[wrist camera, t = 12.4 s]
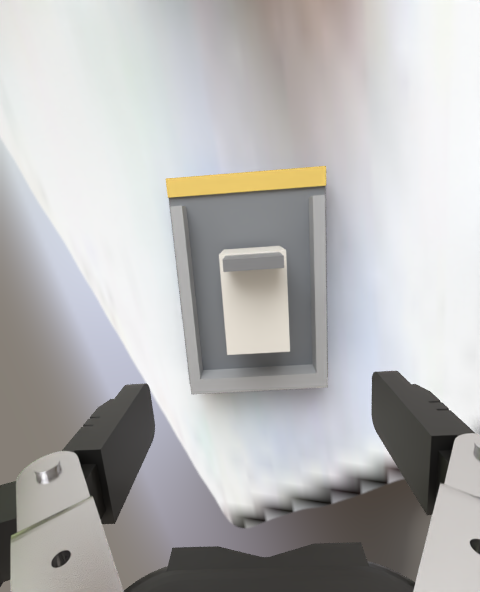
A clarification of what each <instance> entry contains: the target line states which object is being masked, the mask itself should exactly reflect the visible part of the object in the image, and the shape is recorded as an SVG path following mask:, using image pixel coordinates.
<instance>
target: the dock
mask: <svg viewBox="0 0 480 592" xmlns="http://www.w3.org/2000/svg"><path fill="white" fill-rule="evenodd" d="M166 185H167V194H168V198H169V205H170V213H171V222H172V231H173V240H174V248H175V257H176V266H177V275H178V284H179V292H180V301H181V310H182V319H183V327H184V336H185V345H186V354H187V362H188V371H189V380H190V386H191V394H209V393H228V392H248V391H267V390H287V389H306V388H326V387H328V385H327V377H328V357H327V276H326V195H325V186H326V166H319V167H306V168H294V169H281V170H269V171H256V172H243V173H231V174H218V175H205V176H193V177H180V178H167V179H166ZM268 246H281V247H282V248H284V249H285V250H286V260H287V286H288V311H289V337H290V352H272V353H254V354H236V355H227V346H226V334H225V322H224V310H223V299H222V287H221V275H220V263H219V254H220V253H221V252H222V251H223V250H224V249H239V248H253V247H268Z"/></svg>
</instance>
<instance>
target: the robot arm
mask: <svg viewBox="0 0 480 592" xmlns="http://www.w3.org/2000/svg"><path fill="white" fill-rule="evenodd" d="M372 420H373V425H374V428H375V430H376V432H377V434H378V435H379V437H380V439H381V440H382V442H383V444H384V445H385V447H386V449H387V450H388V452H389V454H390V455H391V457H392V458H393V460H394V462H395V463H396V465H397V467H398V468H399V470H400V472H401V473H402V475H403V477H404V478H405V480H406V481H407V483H408V485H409V486H410V488H411V490H412V491H413V493H414V495H415V496H416V498H417V500H418V501H419V503H420V504H421V506H422V508H423V509H424V511H425V512H426V514H427V515H432V518H431V523H430V527H429V530H428V534H427V538H426V542H425V546H424V550H423V554H422V559H421V562H420V566H419V570H418V574H417V578H416V582H413V581H412V580H410V579H408V578H407V577H405V576H403V575H401V574H400V573H398V572H396V571H394V570H391V569H389V568H387V567H384V566H382V565H379V564H376V563H372V562H368V561H367V559H366V556H365V553H364V550H363V547H362V545H361V543H324V544H311V545H308V546H305V547H301V548H298V549H295V550H292V551H288V552H285V553H281V554H278V555H275V556H272V557H259V556H255V555H251V554H246V553H242V552H238V551H234V550H230V549H226V548H222V547H184V548H172V552H171V556H170V560H169V564H168V566H167V567H164V568H161V569H159V570H157V571H154V572H152V573H150V574H148V575H146V576H145V577H143V578H141V579H139V580H138V581H136V582H135V583H133V584H132V585H131V586H129V587H128V588H127V589H126V590H124V591H123V588H122V585H121V582H120V579H119V576H118V573H117V570H116V567H115V564H114V560H113V557H112V554H111V551H110V548H109V545H108V542H107V539H106V536H105V533H104V530H103V526H102V524H115V522H116V520H117V518H118V516H119V513H120V511H121V509H122V507H123V505H124V503H125V500H126V498H127V496H128V494H129V492H130V489H131V487H132V485H133V483H134V480H135V478H136V476H137V474H138V472H139V470H140V468H141V465H142V463H143V461H144V459H145V457H146V454H147V452H148V450H149V448H150V446H151V443H152V441H153V438H154V432H155V422H154V415H153V408H152V401H151V394H150V389H149V386H148V384H132V385H125V386H124V387H123V388H122V390H121V391H120V392H119V394H118V395H117V396H116V397H115V399H110V400H109V401H107V402H106V403H104V404H103V405H101V406H100V407H98V408H97V409H96V411H95V412H94V413H93V414H92V415H91V417H90V419H88V420H87V421H86V423H85V424H84V425H83V427H81V429H80V430H79V431H78V432H77V433H76V434H75V436H74V437H73V438H72V439H71V440H70V442H69V443H68V444H67V445H66V447H65V448H64V449H63V450H62V451H60V452H55V453H51V454H48V455H45V456H43V457H41V458H39V459H37V460H35V461H34V462H33V463H31V464H29V465H28V466H27V467H26V468H25V469H24V470H23V471H22V472H21V473H20V474H19V476H18V478H17V480H16V481H15V482H11V483H7V484H4V485H0V587H1V585H2V583H3V582H5V581H8V580H11V591H10V592H480V434H476V433H474V432H473V431H472V430H471V429H470V428H469V427H468V426H467V425H466V424H465V423H464V422H463V421H461V420H460V419H459V418H458V417H457V416H456V415H455V414H454V413H453V412H452V411H451V410H450V411H449V409H448V408H447V407H446V406H445V405H444V404H443V403H441V402H440V400H439V399H438V398H437V397H436V396H434V395H433V394H432V393H431V392H430V391H428V390H426V389H424V388H422V387H420V386H418V385H416V384H410V383H409V382H408V381H407V380H406V379H405V378H404V377H403V376H402V375H401V374H400V373H399V372H398V371H383V372H374V373H373V376H372Z"/></svg>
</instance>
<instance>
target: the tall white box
mask: <svg viewBox="0 0 480 592" xmlns="http://www.w3.org/2000/svg"><path fill="white" fill-rule="evenodd" d="M219 263H220V275H221V287H222V299H223V310H224V322H225V334H226V346H227V355H236V354H254V353H272V352H290V337H289V311H288V286H287V260H286V250H285V249H284V248H282V247H281V246H268V247H253V248H239V249H224V250H223V251H222V252H221V253H220V254H219Z"/></svg>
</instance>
